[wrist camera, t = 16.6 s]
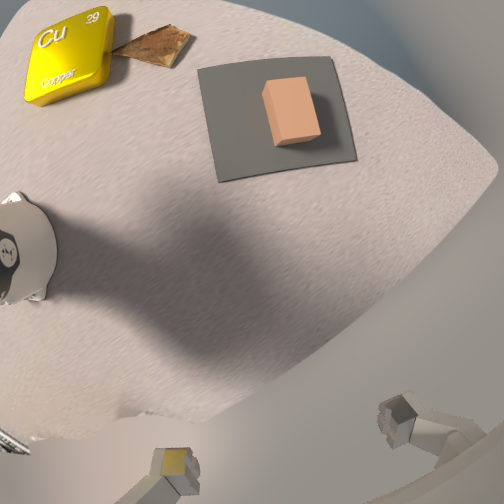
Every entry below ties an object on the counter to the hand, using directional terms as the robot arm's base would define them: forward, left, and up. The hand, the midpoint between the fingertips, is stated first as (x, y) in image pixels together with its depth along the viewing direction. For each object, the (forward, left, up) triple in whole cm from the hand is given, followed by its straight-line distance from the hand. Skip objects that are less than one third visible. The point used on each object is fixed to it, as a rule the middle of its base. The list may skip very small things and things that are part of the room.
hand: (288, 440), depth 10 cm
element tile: (-21, +39, -32) cm, 55 cm away
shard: (-7, +34, -32) cm, 47 cm away
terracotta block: (+10, +15, -28) cm, 33 cm away
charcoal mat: (+9, +20, -31) cm, 38 cm away
